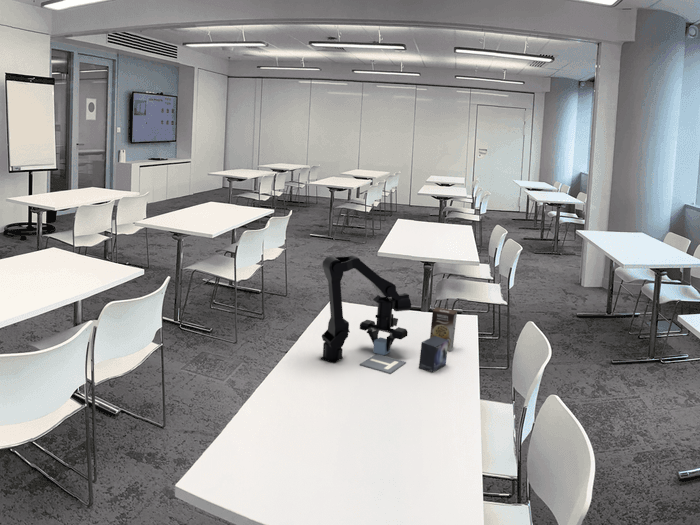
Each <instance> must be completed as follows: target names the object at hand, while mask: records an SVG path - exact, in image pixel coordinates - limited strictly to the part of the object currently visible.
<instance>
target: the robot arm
mask: <svg viewBox="0 0 700 525" xmlns="http://www.w3.org/2000/svg"><path fill="white" fill-rule="evenodd" d="M322 268H323V272H324V275H325V277H326V279H327V284H328V285H327V286H328V295H329V311H330V312H329V313H330V319H328V322H327V323H328V324H327V329H326V330H325V331H324V332H323V334H321V338H322V341H323V348H322V349H323V350H322V351H323V352H322V356H321V357H320V360H323V361H327V362H329V363H333V364H336V363H337V362H339V361H341V360H343V359H344V356H343V348H342V347H343V346H344V344H345V341H346V340H347V338H348V337H349V333H351V332H350V329H349V327H350V322H349V321H347V319H345V318H344V314H343V313H344V312H343V300H342V299H343V298H342V286H341V285H342V284H341V281H342V279H343V278H344V277H343V276H344V272H345V273H346V272H349V271H351V270H355V271H357V272H358V273H359V274H360V275H362V277H364V278H365V279H366V280H368V281H369V282H370V284H372V287H373V288H374V289H375V290H376V291H377V293H379V294H380V295H383V296H380V295H376V296H375V297H374V298H373V299H372V301H373V302H375V303H376V304H377V310H376V311H377V312H376V314H375V318H376V322H375V321H374V320H370V319H365V320H363V321H361V322H360V324H359V330H362V331H365V332H366V334H368V336H369V337H370V339H371V342H372V344H373V346H374V340H376V339H378V338H379V333H380V332H383V333H387V334H389V335H388V336H386V339H387V352H388V351H389V350H390V351H391V348H392V345H393V344H394V341H395V339H396V340H403V339H405V338H406V337H408V333H409V332H408V329H406V328H403V327H397V326H398V321H399V318H396V317H394V314H393V311H394V312H404V311H405V312H406V311H410V310H411V309H412V302H411V299H410V295H409V294H408V293H407V292H406V293H399V292H398V291H397V287H396V286H397V285H395V284H394V283H393V282H391V281H389V280H387V279H385V278H383V277H381V276H380V275H379V274H378V273H377V272H375V271H374V270H372V269H371V268H370V267H369V266H368V265H367V264H366V263H364V262H363V261H362V260H361V259H360V258H359V257H358V256H355V255H347V256H335V257H334V256H331V255H330V256H327V257H326V258H324V260H323V261H322ZM394 327H396V328H394ZM390 347H391V348H390Z"/></svg>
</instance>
